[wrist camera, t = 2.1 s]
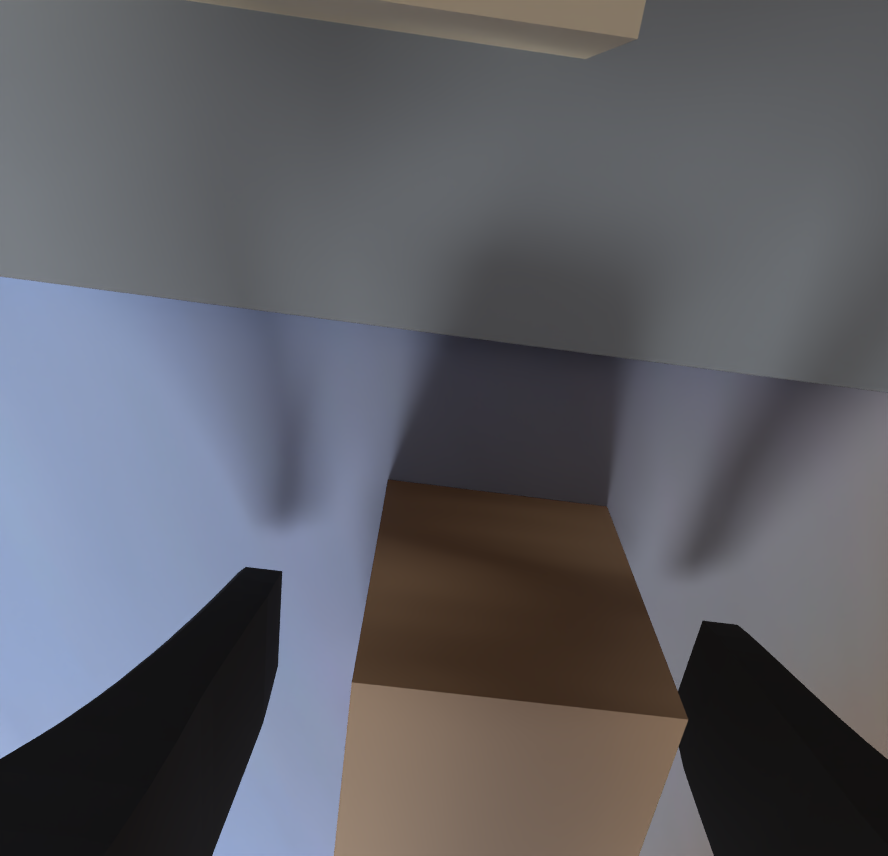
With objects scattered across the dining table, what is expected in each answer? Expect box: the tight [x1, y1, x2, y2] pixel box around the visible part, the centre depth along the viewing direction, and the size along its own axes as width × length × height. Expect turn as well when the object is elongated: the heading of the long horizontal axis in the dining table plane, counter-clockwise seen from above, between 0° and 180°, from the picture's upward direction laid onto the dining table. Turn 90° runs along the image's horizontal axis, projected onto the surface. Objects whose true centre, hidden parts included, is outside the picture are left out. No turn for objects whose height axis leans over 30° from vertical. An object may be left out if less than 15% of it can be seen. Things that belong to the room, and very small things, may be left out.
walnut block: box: [334, 480, 688, 856], centre depth 11 cm, size 4×4×5 cm
